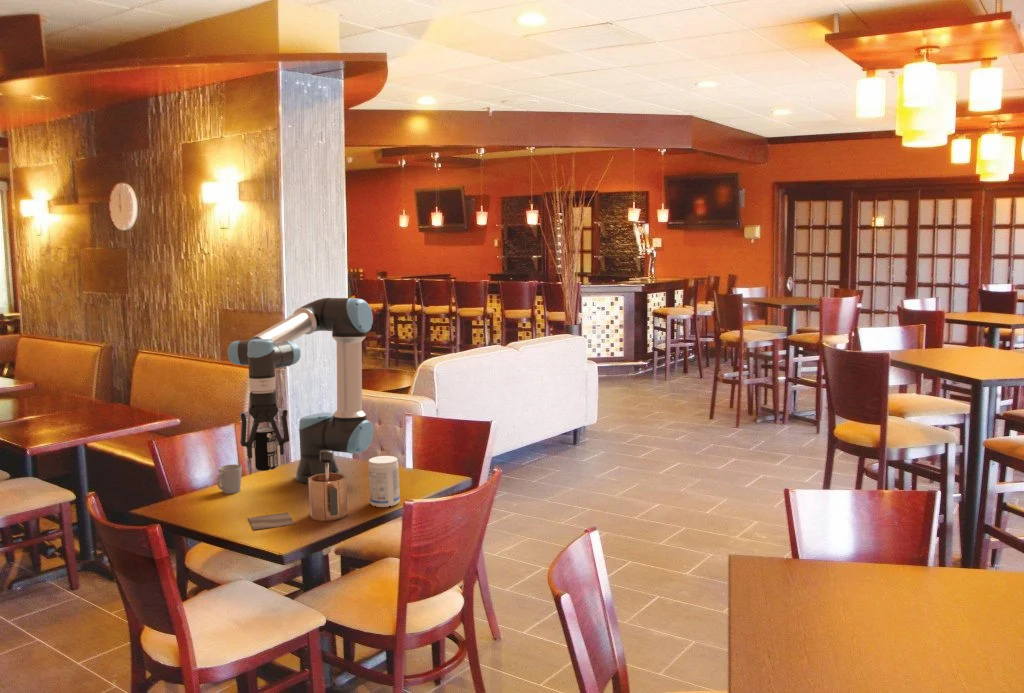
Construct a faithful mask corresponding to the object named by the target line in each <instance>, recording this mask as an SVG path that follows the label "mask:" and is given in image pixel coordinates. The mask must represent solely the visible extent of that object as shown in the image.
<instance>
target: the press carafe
mask: <svg viewBox="0 0 1024 693" xmlns="http://www.w3.org/2000/svg"><path fill="white" fill-rule="evenodd" d="M307 484H308V500H309V501H308V503H309V504H308V505H309V516H310V517H311V519H312V520H314V521H319V522H330V521H338V520H341V519H343V518H345V517H346V516H347V515H348V513H349V512H348V511H349V510H348V488H347V485H348V484H347V476H346V474H344V473H340V472H339V473H329V482H326V473H324V474H317V475H314V476H312V477H310V478H308V483H307Z"/></svg>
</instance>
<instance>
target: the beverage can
mask: <svg viewBox="0 0 1024 693" xmlns="http://www.w3.org/2000/svg"><path fill="white" fill-rule="evenodd" d="M277 443H278V440H277V438H276V433H275V432H274V429H273V428H272V426H271V427H270V426H269V427H268V426H267V427H266V426H265V427H258V428H257V431H256V434H255V438H254V441H253V446H254V448H255V466H256V469H255V470H256V471H262V472H264V471H265V472H266V471H273V470H275V469H276V468H277V467H278V466H277V465H278V463H277Z"/></svg>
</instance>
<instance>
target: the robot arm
mask: <svg viewBox="0 0 1024 693" xmlns="http://www.w3.org/2000/svg"><path fill="white" fill-rule="evenodd" d="M373 322H374V317H373V310H372V308H371V307H370V305H369V303H368V302H367V301H366V300H364V299H362V298H354V297H347V298H346V297H324V298H323V297H322V298H318V299H316V300H314V301H311V302H309V303H306V304H304V305H303V306H301V307H299V308H297V309H295V310H294V311H293V313H292V315H290V316H288V317H287V318H285V319H283V320H281V321H279V322H278V323H276V324H274V325H272V326H270V327H269V328H268V327H267V329H265V330H263V331H261V332H260V333H257V334H256V335H254V336H252V337H250V338H248V339H245V340H234V341H232V342H231V343H230V344H229V346H228V348H227V356H228V357H227V358H228V360H229V361H230V363H231V364H234V365H239V366H248V388H249V389H248V390H249V391H250V393H249V404H250V405H249V408H248V410H246V411H244V412H243V411H241V412H239V416H240V419H241V421H240V422H241V424H240V426H241V427H240V445H241V447H245V448H246V452H247V453H246V454H247V455H246V456H247V457H248V459H251V469H252V470H257V469H256V466H255V448H254V438H255V434H256V431H257V428H259V426H260V424H261V423H262V424H263V423H270V426H271V427H272V428H273V429H274V432H275V433H276V441H277V463H278V465H277V466H276V467H281V464H282V462H281V456H282V455H284V450H285V449H284V444H285V443H288V442H290V434H289V428H288V420H287V416H288V410H287V408H279V407H278V405H277V392H276V391H275V390H276V389H277V388H276V369H280V368H285V367H290V366H293V365H295V364H297V363H298V362H299V361H300V358H301V349H300V347H299V345H298V344H297V343H296V342H294V341H295V340H297V339H299V338H300V337H302V336H303V335H310V334H313V333H315V332H331V337H332V339H334V341H336V342H335V343H336V410H335V412H334V413H331V412H321V413H314V414H309V415H305V416H303V417H301V418H300V419H299V421H298V422H299V424H298V426H299V427H298V431H299V452H300V459H299V463H298V466H297V470H296V474H295V476H296V477H295V480H296V481H297V482H298V483H302V484H308V478H310V477H312V476H314V475H317V474H324V473H326V472H325V463H323V462H320V451H322V450H333V461H332V462H328V464H329V473H340V469H339V466H338V464H337V462H336V458H335V454H334V452H337V453H347V454H351V455H352V454H362V453H365V451H367V450H368V448H369V447H370V445H371V444H372V441H373V436H374V427H373V424H372V422H371V421H369V420H367V413H366V412H365V411H364V410H363V378H362V377H363V372H362V371H363V364H362V363H363V362H362V361H363V359H362V358H363V357H362V356H363V351H362V350H363V349H362V348H363V346H362V342H363V341H364V340H365V339H366V338H367V333H368V332H370V330H372V326H373ZM277 414H279V416H280V420H281V421H280V422H281V427H282V434H283V437H282V436H281V433H280V431H279V428H278V426H277V423H276V421H275V419H274V418H275V417H276V415H277ZM249 416H251V417H252V419H253V422H252V426H251V429H250V432H249V436H248V439H247V424H248V421H247V420H248V419H249Z"/></svg>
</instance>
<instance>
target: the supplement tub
mask: <svg viewBox="0 0 1024 693" xmlns="http://www.w3.org/2000/svg"><path fill="white" fill-rule="evenodd" d="M367 468H368V487H369V489H368V490H369V503H370V504H371V506H373V507H375V506H376V507H377V508H389V506H391V507H393V506H396V505H398V504H399V503H400V501H401V500H400V495H401V493H400V473H399V459H398V458H397V457H396V456H392V455H379V456H374V457H371V458H369V459H368V467H367Z"/></svg>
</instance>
